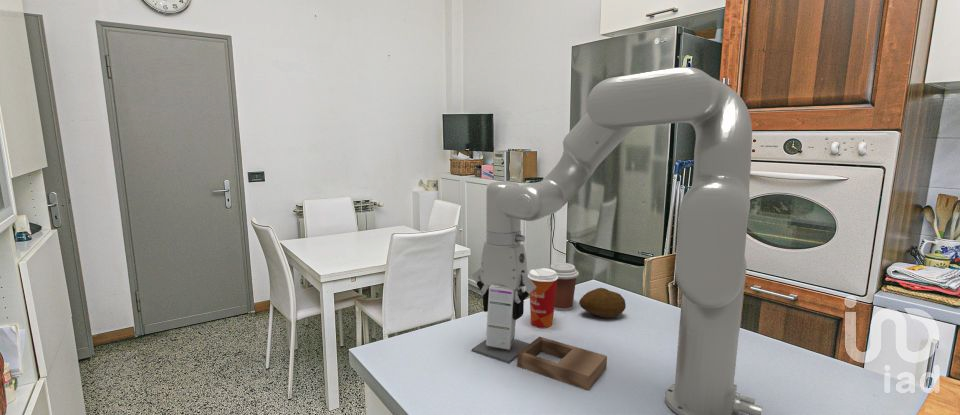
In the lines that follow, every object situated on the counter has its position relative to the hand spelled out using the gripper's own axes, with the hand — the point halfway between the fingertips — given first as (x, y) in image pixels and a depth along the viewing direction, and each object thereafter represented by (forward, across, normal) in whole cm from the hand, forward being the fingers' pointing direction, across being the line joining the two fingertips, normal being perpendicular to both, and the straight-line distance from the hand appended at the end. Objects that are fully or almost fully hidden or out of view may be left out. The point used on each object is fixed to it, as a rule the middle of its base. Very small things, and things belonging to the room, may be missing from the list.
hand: (502, 313), depth 106 cm
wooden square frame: (+9, -15, 0) cm, 17 cm away
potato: (+9, -12, -32) cm, 35 cm away
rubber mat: (+9, 0, 0) cm, 9 cm away
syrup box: (+7, +1, 0) cm, 7 cm away
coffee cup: (+9, 0, -32) cm, 33 cm away
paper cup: (+9, -1, -18) cm, 20 cm away
